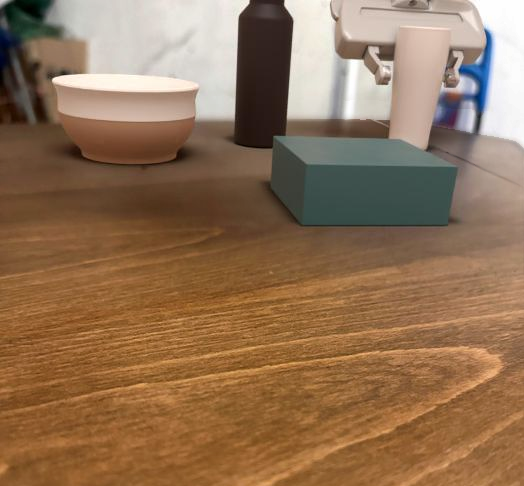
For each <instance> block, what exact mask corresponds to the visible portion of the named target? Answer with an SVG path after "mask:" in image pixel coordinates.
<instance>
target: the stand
mask: <svg viewBox="0 0 524 486" xmlns="http://www.w3.org/2000/svg"><path fill="white" fill-rule="evenodd" d="M458 171H459V166H458V165H455V164H453V163H451V162H449V161H447V160H445V159H443V158H441V157H439V156H436V155H435V154H432V153H430V152H428V151H427V150H425V151H424V150H422V149H420V148H418V147H416V146H414V145H412V144H409V143H407V142H405V141H403V140H401V139H388V138H375V137H374V138H371V137H370V138H369V137H333V136H332V137H330V136H297V135H295V136H292V135H286V136H273V148H272V154H271V172H270V185H269V186H270V189H271V191H273V193H274V194H275V195H276V197H277V198H278V199H279V200H280V201H281V202H282V204H283V205H284V206H285V207H286V209H288V211H289V212H290V213H291V214H292V216H293V217H294V218H295V219H296V220H297V222H298V223H299V224H300V225H301V226H448V225H449V220H450V219H449V218H450V214H451V208H452V203H453V197H454V192H455V186H456V181H457V176H458Z"/></svg>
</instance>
